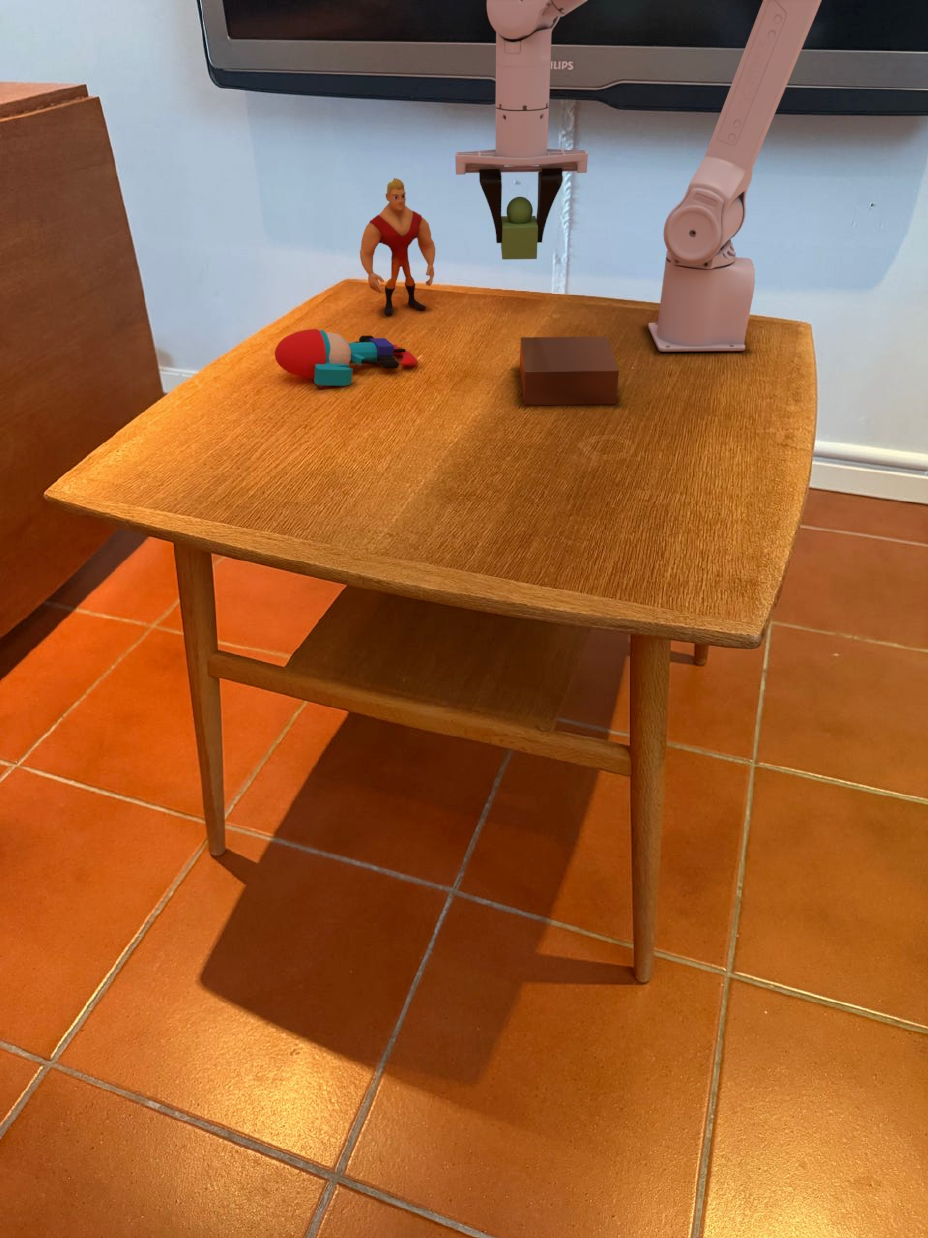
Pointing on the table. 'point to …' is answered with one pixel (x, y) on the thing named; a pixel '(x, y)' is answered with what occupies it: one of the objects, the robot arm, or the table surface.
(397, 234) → the action figure
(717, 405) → the table surface
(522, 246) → the green toy
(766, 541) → the table surface
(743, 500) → the table surface
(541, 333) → the table surface
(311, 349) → the toy figure
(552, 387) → the walnut block
